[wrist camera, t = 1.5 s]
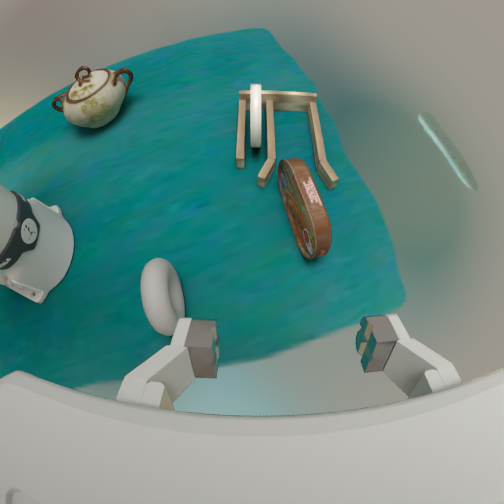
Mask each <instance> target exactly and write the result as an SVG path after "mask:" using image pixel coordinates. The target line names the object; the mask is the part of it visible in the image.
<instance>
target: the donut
mask: <svg viewBox="0 0 504 504" xmlns="http://www.w3.org/2000/svg"><path fill="white" fill-rule="evenodd" d="M141 298H142V303H143V307H144V310H145V313H146V316H147V318H148V320H149V322H150V324H151V325H152V327H153V328H154V329H155V330H156V331H157V332H158V333H160V334H163V335H165V336H171V335H174V332H175V329H176V326H177V323H178V320H179V319H180V317H184V318H185V305H184V297H183V292H182V287H181V284H180V280H179V277H178V275H177V273H176V271H175V269H174V267H173V266H172V264H171V263H170V262H169V261H167V260H165V259H162V258H155V259H152V260H151V261H149V262H148V263H147V264H146V265H145V267H144V269H143V272H142V276H141Z"/></svg>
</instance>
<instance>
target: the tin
mask: <svg viewBox="0 0 504 504" xmlns="http://www.w3.org/2000/svg"><path fill="white" fill-rule="evenodd" d="M278 182H279V189H280V194H281V197H282V200H283V203H284V206H285V209H286V212H287V215H288V218H289V221H290V224H291V227H292V230H293V233H294V236H295V239H296V242H297V244H298V247H299V249H300V251H301V253H302V254H303V256H304V257H305V258H307V259H308V260H311V259H313V258H316V257H320V256H323V255H325V254H326V253H327V252H328V251H329V249H330V247H331V243H332V230H331V224H330V220H329V216H328V214H327V211H326V208H325V206H324V203H323V201H322V198H321V196H320V193H319V191H318V189H317V186H316V184H315V182H314V179H313V177H312V175H311V173H310V170H309V168H308V166H307V165H306V163H305V162H304V161H303V160H302V159H299V158H293V159H282V160H281V161H280V162H279V166H278Z"/></svg>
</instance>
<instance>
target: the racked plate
mask: <svg viewBox="0 0 504 504" xmlns="http://www.w3.org/2000/svg"><path fill="white" fill-rule="evenodd" d="M250 136H251V147H261V84H251V90H250Z"/></svg>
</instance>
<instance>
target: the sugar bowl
mask: <svg viewBox="0 0 504 504" xmlns="http://www.w3.org/2000/svg"><path fill="white" fill-rule="evenodd" d="M82 70H87V71H88V73H87V74H85V75H83V76H82V77H80V78H79V72H80V71H82ZM122 73H126V74H128V75H129V80H128V82H127V84H126V85H125V81H124V79H123V77H122V76H121V75H120V74H122ZM75 78H76V81H75V82H74V83H73V84H72V85H71V87H70V88H69V89H68V91H67V92H65V93H63V94H61V95H59V96H57V97H55V98H54V99H53V101H52V107H53V108H54V109H55V110H57V111H59V112H63V113H64V115H65V117H66V119H67V120H68V121H69V122H71V123H72V124H74V125H77V126H81V127H91V128H98V127H101V126H104V125H106V124H107V123H109V122H110V121H112V120H113V119H114V118H115V117H116V115H117V114H118V112H119V110H120V106H121V104H122V102H123V99H124V97H125V96H126V94H127V91H128V89H129V86H130V84H131V82H132V80H133V73H132V72H131V71H130V70H128V69H125V68H122V69H119V70H117V71H113V70H108V69H97V70H94V71H91V70H90V69H89V68H88V67H85V66H81V67H80V68H79V69H78V70H77V72H76V74H75ZM64 96H66V97H65V99H64V100H63V99H62V98H61V97H64ZM56 101H60V102H61V104H62V107H63V108H60V107H58V106H56Z"/></svg>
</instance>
